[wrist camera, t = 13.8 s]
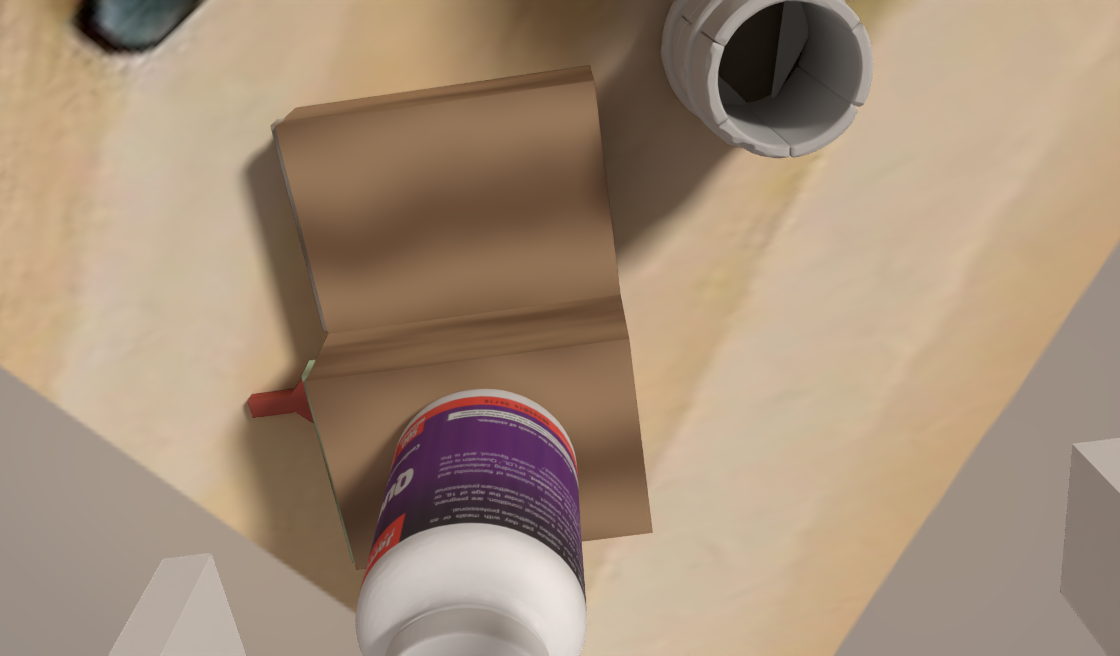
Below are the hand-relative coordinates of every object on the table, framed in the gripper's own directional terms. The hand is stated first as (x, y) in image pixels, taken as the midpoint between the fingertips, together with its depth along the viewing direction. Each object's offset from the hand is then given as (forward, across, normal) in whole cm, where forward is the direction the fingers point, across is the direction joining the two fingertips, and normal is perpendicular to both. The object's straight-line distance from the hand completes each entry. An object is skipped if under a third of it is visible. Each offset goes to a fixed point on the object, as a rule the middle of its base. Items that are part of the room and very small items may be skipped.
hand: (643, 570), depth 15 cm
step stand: (+35, -9, -8) cm, 37 cm away
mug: (+35, +9, +4) cm, 36 cm away
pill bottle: (+26, -6, -13) cm, 30 cm away
